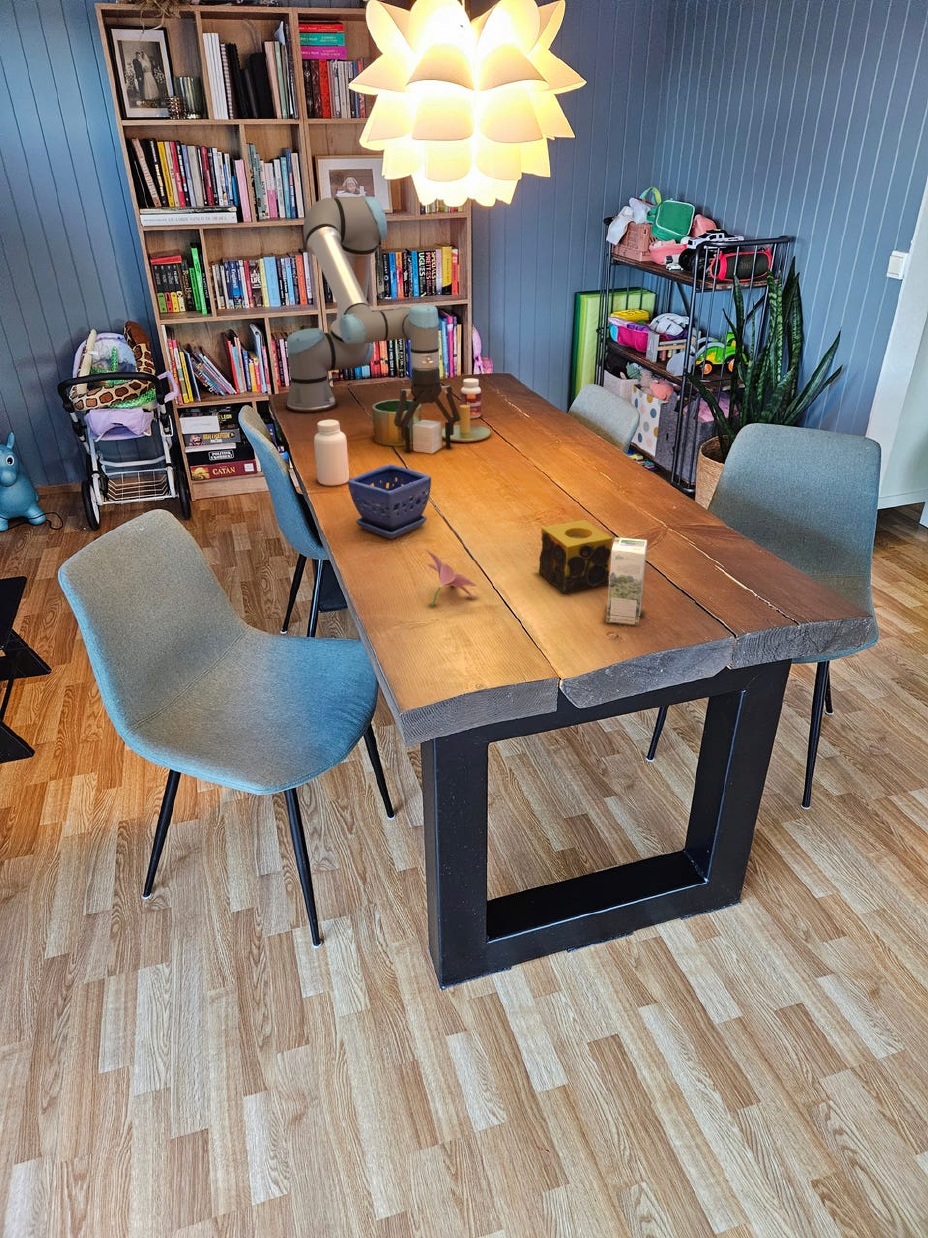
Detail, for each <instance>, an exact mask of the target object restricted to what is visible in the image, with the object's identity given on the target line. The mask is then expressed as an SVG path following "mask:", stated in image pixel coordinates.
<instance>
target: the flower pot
mask: <svg viewBox="0 0 928 1238" xmlns="http://www.w3.org/2000/svg"><path fill="white" fill-rule="evenodd" d="M372 484H373V485H372ZM387 484H388V485H387ZM347 486H348V490H349V493H350V497H351V500H352V502H353V504H354V507H355V509H356V511H357V512H358V514H359V515H360V516H361V517H360V518H358V519H355V523H356V524H357V525H358V527H360V528H361V529H363V530H366V531H368V532H371V533H372V534H375V535H379V536H382V537H384V538H387V539H390V540H393V539H396V538H398V537H400V536H403V535H405V534H407V533H409V532H411V531H414V530H415V529H418V528H419V527H422V525H424V524H425V523H426V521H427V519H428V517H427V516H425V515H423V514H424V512H425V509H426V507H427V506H428V502H429V499H430V495H431V488H432V477H431V476H430V475H429V474H426V473H422V472H419V471H417V470H413V469H409V468H405V467H402V466H399V465H394V464H386V465H383V466H380V467H378V468H375V469H372V470H369V471H366V472H365V473H362V474H360V475H357V476H354V477H353V478H349V480H348V482H347ZM387 486H388V488H387Z"/></svg>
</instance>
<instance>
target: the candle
mask: <svg viewBox="0 0 928 1238" xmlns="http://www.w3.org/2000/svg"><path fill="white" fill-rule="evenodd" d="M540 532H541V543H542V544H541V551H540V555H539V566H538V574H539V575H541V577H543V578H544V579H545V580H546V581H547V582H548V583H550V584H551V585H552V586H553V587H555V588H556V589H558V590H559V591H560V592H561V593H562V594H569V593H574V592H579V591H584V590H589V589H592V588H597V587H600V586H607V585H609V577H610V562H611V559H610V558H611V552H612V546H613V544H612V543H613V538H612V537H611V536H610V535H609V534H607V533H605V532H604V531H602V530H601V529H600V528H598V527H596V526H595V525H594V524H592V523H591V522H589V521H588V520H587V519H581V520H577V521H570V522H564V523H560V524H559V523H558V524H552V525H548V526H543V527H541V529H540Z"/></svg>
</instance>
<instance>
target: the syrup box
mask: <svg viewBox="0 0 928 1238" xmlns="http://www.w3.org/2000/svg"><path fill="white" fill-rule="evenodd" d="M612 543H613V544H612V546H611V554H610V565H609V578H608V591H607V594H608V595H607V606H606V607H607V608H606V619H605V620H606V621H605V623H607V624H608V623H609V624H616V625H617V624H618V625H626V626H635V627H636V626H639V622H640V617H639V616H641V611H642V597H643V588H644V587H643V586H644V578H645V568H646V561H647V560H646V559H647V552H648V551H647V550H648V540H647V539H639V538H638V539H637V538H628V537H619V536H618V537H617V536H615V537H614V540H613V542H612ZM609 618H611V619H609ZM617 619H628V620H639V621H638V622H635V621H626V620H617Z"/></svg>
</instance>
